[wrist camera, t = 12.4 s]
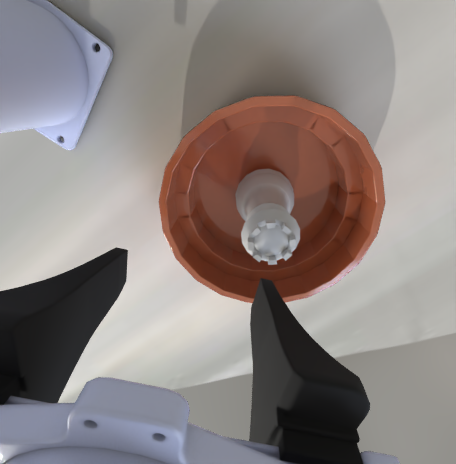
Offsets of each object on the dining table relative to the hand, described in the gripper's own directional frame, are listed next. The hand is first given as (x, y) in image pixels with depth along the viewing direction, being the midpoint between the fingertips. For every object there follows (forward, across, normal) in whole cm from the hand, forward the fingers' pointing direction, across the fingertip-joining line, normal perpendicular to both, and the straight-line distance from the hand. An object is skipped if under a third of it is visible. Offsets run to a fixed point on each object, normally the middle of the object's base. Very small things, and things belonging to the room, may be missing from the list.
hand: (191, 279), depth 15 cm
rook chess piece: (+9, -4, -3) cm, 10 cm away
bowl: (+9, -4, -3) cm, 10 cm away
